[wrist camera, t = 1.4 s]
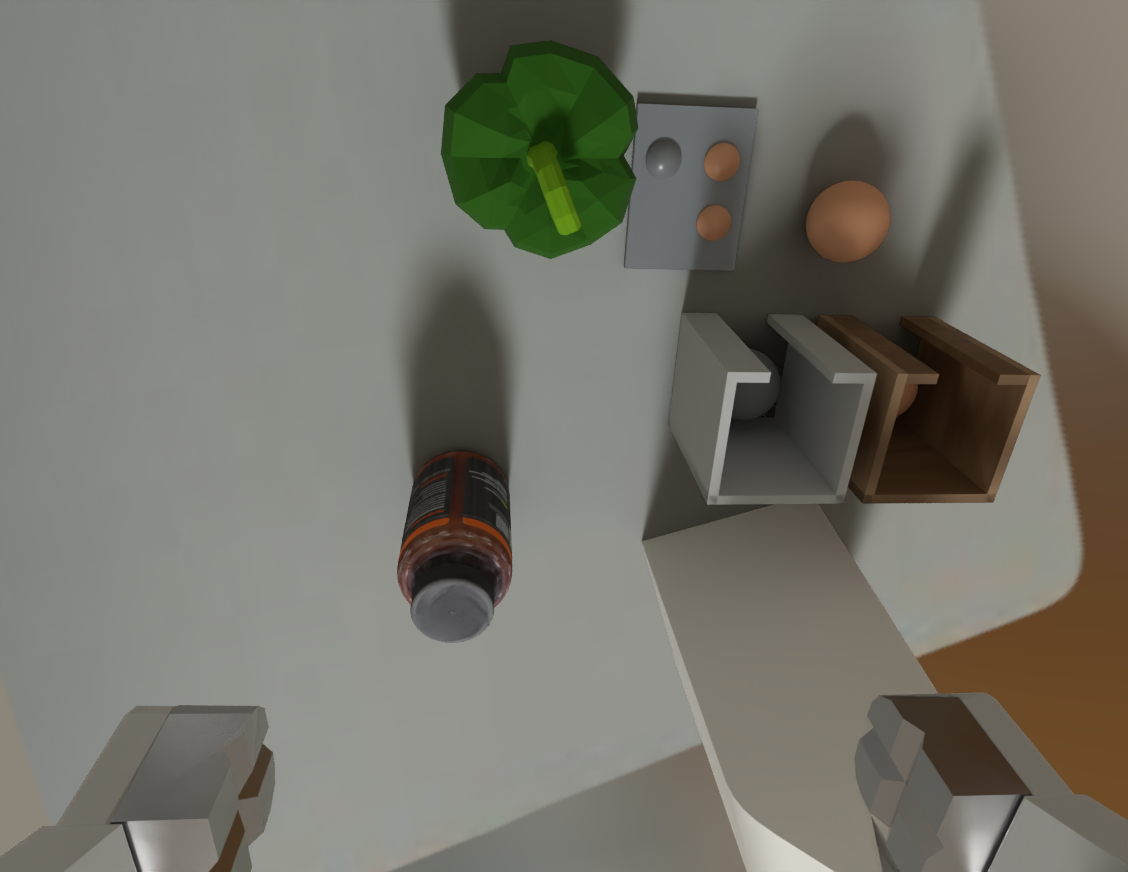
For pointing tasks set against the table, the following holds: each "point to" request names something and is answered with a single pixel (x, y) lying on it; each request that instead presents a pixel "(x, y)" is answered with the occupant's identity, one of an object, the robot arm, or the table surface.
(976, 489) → the walnut tube
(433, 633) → the supplement bottle
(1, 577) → the table surface
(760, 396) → the tube ball charcoal
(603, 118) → the bell pepper
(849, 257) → the loose ball
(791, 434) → the grey tube
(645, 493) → the table surface
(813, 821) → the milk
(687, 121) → the card
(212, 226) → the table surface
